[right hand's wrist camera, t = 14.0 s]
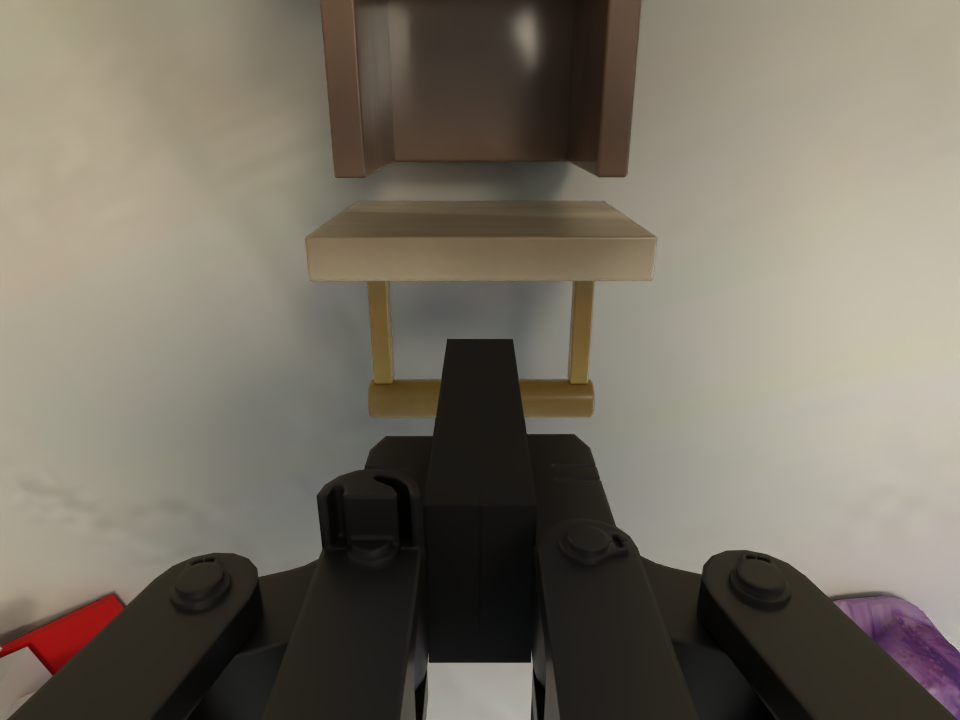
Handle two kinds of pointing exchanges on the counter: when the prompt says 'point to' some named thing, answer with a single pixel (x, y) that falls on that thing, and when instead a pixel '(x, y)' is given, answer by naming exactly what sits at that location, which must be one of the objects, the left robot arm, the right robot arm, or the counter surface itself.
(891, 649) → the figurine
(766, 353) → the counter surface
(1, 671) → the toy
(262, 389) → the counter surface
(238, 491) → the counter surface
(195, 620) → the right robot arm
